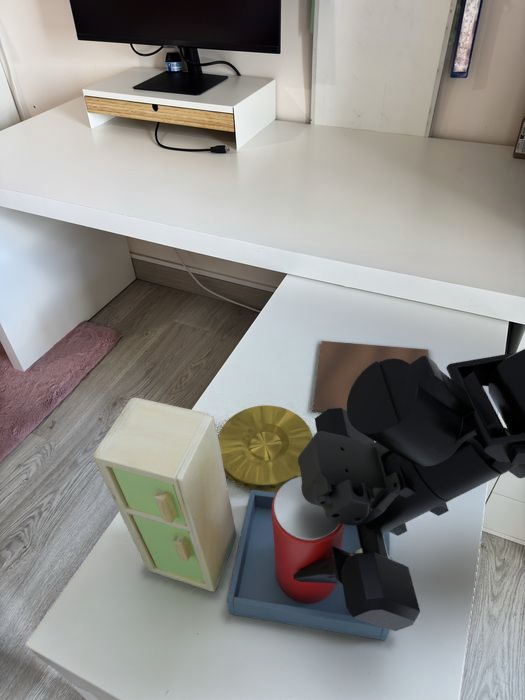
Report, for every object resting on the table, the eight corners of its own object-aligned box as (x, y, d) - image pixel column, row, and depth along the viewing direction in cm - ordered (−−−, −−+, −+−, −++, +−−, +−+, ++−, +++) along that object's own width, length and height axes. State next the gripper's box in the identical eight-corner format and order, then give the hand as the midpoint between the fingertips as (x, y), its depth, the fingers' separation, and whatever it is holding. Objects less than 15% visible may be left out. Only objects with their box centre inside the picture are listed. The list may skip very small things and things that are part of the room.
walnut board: (427, 351, 76) (428, 349, 76) (434, 424, 66) (435, 421, 66) (321, 343, 79) (321, 340, 78) (312, 411, 69) (312, 409, 68)
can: (339, 546, 54) (348, 478, 45) (335, 608, 49) (344, 546, 40) (280, 537, 55) (277, 469, 46) (271, 598, 50) (265, 535, 41)
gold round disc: (200, 470, 62) (197, 460, 61) (247, 404, 70) (246, 394, 68) (287, 510, 58) (287, 500, 56) (327, 435, 65) (328, 424, 64)
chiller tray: (385, 521, 56) (388, 507, 54) (386, 640, 48) (390, 629, 46) (252, 504, 59) (250, 489, 57) (229, 614, 50) (226, 601, 48)
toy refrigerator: (142, 578, 53) (85, 462, 39) (172, 516, 58) (132, 393, 44) (212, 601, 51) (179, 488, 37) (237, 535, 56) (217, 413, 42)
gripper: (343, 341, 43) (226, 430, 51) (398, 553, 30) (227, 633, 37) (419, 396, 49) (304, 470, 56) (495, 597, 35) (329, 659, 42)
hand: (292, 542), depth 48 cm, fingers closed on can, 6 cm apart
